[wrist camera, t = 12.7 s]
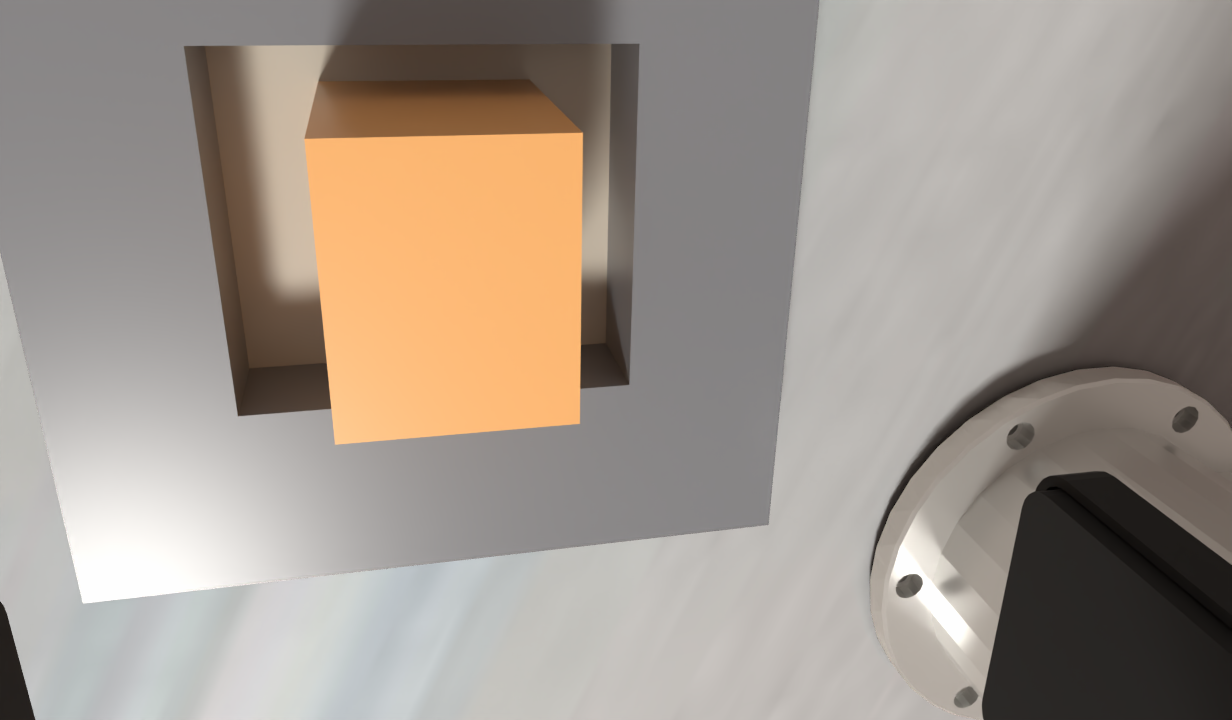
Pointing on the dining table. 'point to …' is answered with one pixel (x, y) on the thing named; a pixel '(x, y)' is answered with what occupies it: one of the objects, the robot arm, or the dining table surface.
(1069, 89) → the dining table surface
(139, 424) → the socket plate
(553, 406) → the plug
